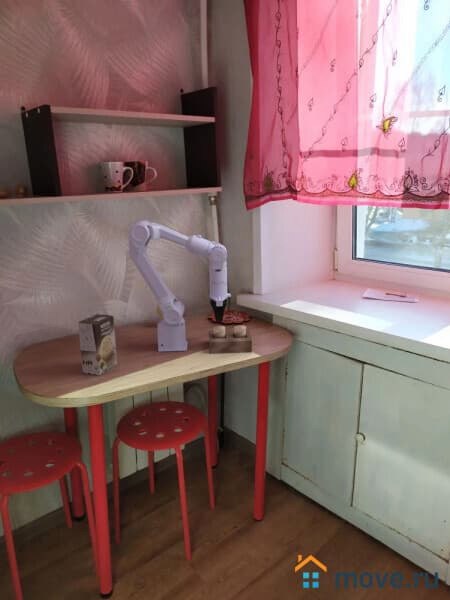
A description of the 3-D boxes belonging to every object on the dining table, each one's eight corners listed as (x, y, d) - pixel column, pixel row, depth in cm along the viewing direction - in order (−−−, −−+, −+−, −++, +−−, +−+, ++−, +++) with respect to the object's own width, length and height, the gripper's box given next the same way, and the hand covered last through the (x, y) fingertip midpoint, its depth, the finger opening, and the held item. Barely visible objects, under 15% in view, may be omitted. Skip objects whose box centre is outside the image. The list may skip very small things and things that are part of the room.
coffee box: (100, 376, 137) (95, 324, 132) (82, 373, 139) (76, 322, 135) (117, 364, 145) (113, 315, 141) (100, 361, 147) (96, 313, 143)
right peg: (234, 339, 155) (234, 329, 154) (233, 335, 159) (233, 325, 158) (246, 338, 156) (246, 328, 155) (245, 334, 159) (245, 325, 158)
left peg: (213, 339, 155) (213, 329, 154) (213, 335, 159) (213, 325, 158) (225, 339, 155) (225, 329, 154) (224, 335, 159) (224, 325, 158)
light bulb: (154, 328, 178) (152, 303, 175) (163, 323, 183) (162, 298, 181) (167, 330, 175) (166, 305, 172) (177, 325, 181) (176, 300, 178)
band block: (209, 353, 153) (209, 342, 152) (209, 341, 163) (208, 330, 162) (251, 352, 153) (251, 340, 152) (248, 340, 164) (248, 329, 163)
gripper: (232, 286, 145) (232, 327, 149) (229, 276, 159) (229, 314, 163) (209, 287, 145) (210, 328, 148) (208, 276, 159) (209, 314, 162)
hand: (219, 320), depth 155 cm, fingers closed
